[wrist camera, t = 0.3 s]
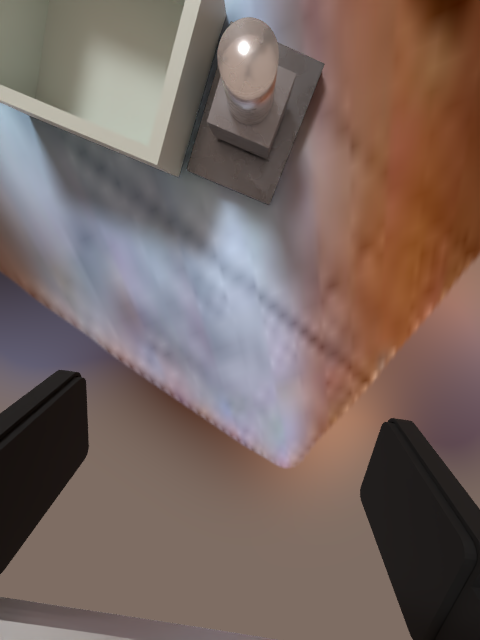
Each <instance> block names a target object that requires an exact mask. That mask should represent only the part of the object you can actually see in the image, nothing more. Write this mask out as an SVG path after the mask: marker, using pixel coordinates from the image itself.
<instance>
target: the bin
mask: <svg viewBox="0 0 480 640" xmlns="http://www.w3.org/2000/svg"><path fill="white" fill-rule="evenodd" d="M225 17H226V10H225V3H224V0H0V102H1V103H3V104H5V105H7V106H9V107H12V108H14V109H16V110H18V111H20V112H22V113H24V114H27V115H29V116H31V117H34V118H36V119H38V120H41V121H43V122H46V123H48V124H50V125H53V126H55V127H58V128H60V129H63V130H65V131H67V132H70V133H72V134H75V135H77V136H79V137H82V138H84V139H87V140H89V141H92V142H94V143H96V144H99V145H101V146H104V147H106V148H109V149H111V150H113V151H116V152H118V153H121V154H123V155H125V156H128V157H130V158H133V159H135V160H138V161H140V162H142V163H145V164H147V165H150V166H152V167H154V168H157V169H159V170H162V171H164V172H167V173H169V174H171V175H174V176H176V177H179V175H180V172H181V168H182V165H183V161H184V158H185V154H186V151H187V148H188V144H189V141H190V137H191V134H192V130H193V127H194V124H195V120H196V117H197V113H198V110H199V107H200V103H201V100H202V96H203V93H204V89H205V86H206V83H207V79H208V76H209V72H210V69H211V65H212V62H213V59H214V55H215V52H216V48H217V45H218V41H219V38H220V35H221V31H222V28H223V24H224V21H225Z"/></svg>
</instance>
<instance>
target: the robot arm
mask: <svg viewBox="0 0 480 640" xmlns="http://www.w3.org/2000/svg"><path fill="white" fill-rule="evenodd" d="M88 447H89V445H88V419H87V394H86V380H85V379H84V378H82V377H81V375H80V373H78V372H72V371H65V370H58V371H57V372H55V373H54V374H53V375H51V376H50V377H48V378H47V379H46V380H44V381H43V382H42V383H40V384H39V385H38V386H36V387H35V388H34V389H33V390H31V391H30V392H28V393H27V394H26V395H24V396H23V397H22V398H20V399H19V400H18V401H16V402H15V403H14V404H12V405H11V406H10V407H8V408H7V409H6V410H4V411H3V412H2V413H0V574H1V573H2V572H3V571H4V569H5V568H6V567H7V565H8V564H9V562H10V561H11V560H12V558H13V557H14V555H15V554H16V553H17V552H18V550H19V549H20V547H21V546H22V545H23V543H24V542H25V541H26V539H27V538H28V536H29V535H30V534H31V532H32V531H33V530H34V528H35V527H36V525H37V524H38V523H39V521H40V520H41V518H42V517H43V516H44V514H45V513H46V512H47V510H48V509H49V508H50V506H51V505H52V503H53V502H54V501H55V499H56V498H57V497H58V495H59V494H60V492H61V491H62V490H63V488H64V487H65V486H66V484H67V483H68V481H69V480H70V479H71V477H72V476H73V475H74V473H75V472H76V470H77V469H78V468H79V466H80V465H81V463H82V462H83V461H84V459H85V458H86V455H87V453H88ZM360 497H361V501H362V504H363V507H364V510H365V512H366V515H367V518H368V520H369V523H370V526H371V528H372V531H373V534H374V537H375V540H376V542H377V545H378V548H379V550H380V553H381V556H382V559H383V562H384V564H385V567H386V569H387V572H388V575H389V578H390V581H391V583H392V586H393V589H394V591H395V594H396V597H397V600H398V603H399V605H400V608H401V611H402V613H403V616H404V619H405V621H406V624H407V627H408V630H409V632H410V635H411V637H412V639H413V640H480V509H479V508H478V506H477V505H476V504H475V503H474V501H473V500H472V499H471V497H470V496H469V495H468V493H467V492H466V491H465V489H464V488H463V487H462V486H461V484H460V483H459V482H458V480H457V479H456V478H455V476H454V475H453V474H452V472H451V471H450V470H449V469H448V467H447V466H446V465H445V463H444V462H443V461H442V459H441V458H440V457H439V455H438V454H437V453H436V451H435V450H434V449H433V448H432V446H431V445H430V444H429V442H428V441H427V440H426V438H425V437H424V436H423V435H422V433H421V432H420V431H419V429H418V428H417V427H416V425H415V424H414V423H413V422H412V421H408V420H401V419H395V418H391V419H390V420H388V422H384V423H383V424H382V426H381V429H380V432H379V435H378V438H377V441H376V444H375V447H374V450H373V453H372V456H371V459H370V462H369V465H368V468H367V471H366V474H365V477H364V480H363V482H362V485H361V489H360ZM0 640H276V639H270V638H263V637H257V636H250V635H244V634H238V633H232V632H225V631H219V630H213V629H206V628H200V627H193V626H187V625H181V624H174V623H168V622H162V621H155V620H149V619H143V618H136V617H129V616H123V615H117V614H109V613H103V612H97V611H90V610H83V609H76V608H70V607H63V606H57V605H50V604H44V603H37V602H30V601H24V600H17V599H10V598H4V597H0Z"/></svg>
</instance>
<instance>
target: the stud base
mask: <svg viewBox="0 0 480 640" xmlns="http://www.w3.org/2000/svg"><path fill="white" fill-rule="evenodd" d="M232 23H234V22H230V25H231V24H232ZM277 43H278V42H277ZM278 48H279V60H278V66H281V67H283V68H285V69H287V70H290V71H292V72H294V73H296V77H295V81H294V85H293V89H292V92H291V96H290V99H289V102H288V105H287V107H286V110H285V113H284V115H283V118H282V121H281V123H280V126H279V129H278V131H277V134H276V137H275V139H274V142H273V145H272V147H271V150H270V153H269V156H268V158H267V159H265V158H263V157H260V156H258V155H256V154H253V153H251V152H249V151H246V150H244V149H242V148H239V147H237V146H235V145H232V144H230V143H228V142H225V141H223V140H221V139H218V138H216V137H214V135H213V133H212V131H211V129H210V127H209V125H208V123H207V120H208V116H209V113H210V110H211V106H212V103H213V100H214V96H215V93H216V90H217V87H218V83H219V80H220V77H221V74H220V70H219V66H217V69H216V73H215V76H214V79H213V83H212V86H211V89H210V93H209V96H208V100H207V103H206V106H205V110H204V113H203V116H202V120H201V123H200V126H199V130H198V133H197V137H196V140H195V143H194V147H193V150H192V153H191V157H190V160H189V163H188V167H187V171H189V172H190V173H193V174H195V175H198V176H200V177H202V178H205V179H207V180H210V181H212V182H215V183H217V184H219V185H222V186H224V187H227V188H229V189H231V190H234V191H236V192H239V193H241V194H243V195H246V196H248V197H251V198H253V199H255V200H258V201H260V202H263V203H265V204H267V205H269V204H270V202H271V199H272V197H273V194H274V192H275V189H276V186H277V184H278V181H279V179H280V176H281V174H282V171H283V169H284V166H285V164H286V161H287V158H288V156H289V153H290V151H291V148H292V146H293V143H294V141H295V138H296V135H297V133H298V130H299V128H300V125H301V123H302V120H303V118H304V115H305V113H306V110H307V107H308V105H309V102H310V100H311V97H312V95H313V92H314V90H315V87H316V85H317V82H318V79H319V77H320V74H321V72H322V69H323V67H324V63H322V62H320V61H317V60H315V59H313V58H311V57H309V56H306V55H304V54H302V53H300V52H298V51H295V50H293V49H291V48H289V47H287V46H284V45H282V44H280V43H278Z"/></svg>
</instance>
